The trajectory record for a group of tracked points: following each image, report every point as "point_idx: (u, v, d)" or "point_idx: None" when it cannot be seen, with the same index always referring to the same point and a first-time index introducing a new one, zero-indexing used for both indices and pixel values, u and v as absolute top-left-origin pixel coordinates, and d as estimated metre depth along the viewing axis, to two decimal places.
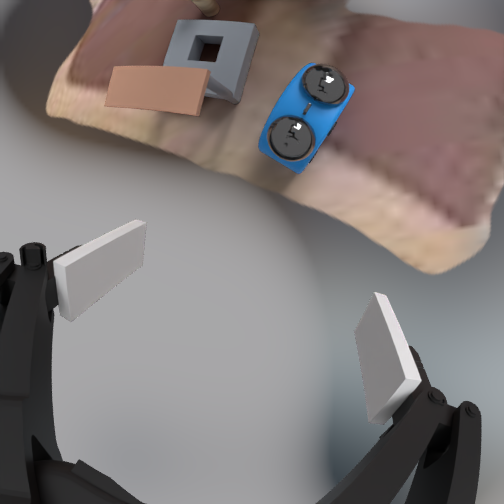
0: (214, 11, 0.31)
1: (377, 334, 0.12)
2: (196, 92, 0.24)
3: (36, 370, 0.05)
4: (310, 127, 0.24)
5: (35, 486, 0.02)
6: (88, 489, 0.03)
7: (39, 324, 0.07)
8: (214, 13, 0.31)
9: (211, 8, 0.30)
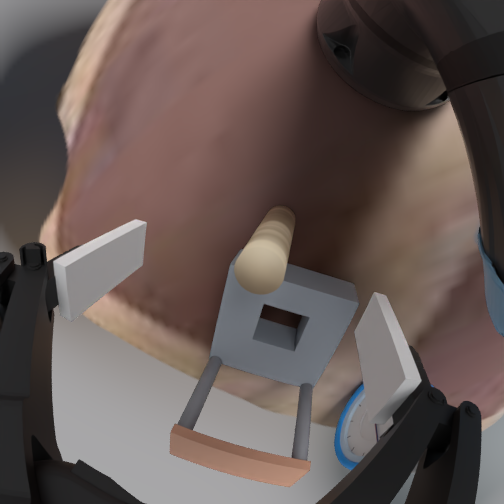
0: None
1: (377, 334, 0.11)
2: (293, 479, 0.19)
3: (36, 370, 0.05)
4: None
5: (35, 486, 0.02)
6: (88, 489, 0.03)
7: (39, 324, 0.07)
8: None
9: None
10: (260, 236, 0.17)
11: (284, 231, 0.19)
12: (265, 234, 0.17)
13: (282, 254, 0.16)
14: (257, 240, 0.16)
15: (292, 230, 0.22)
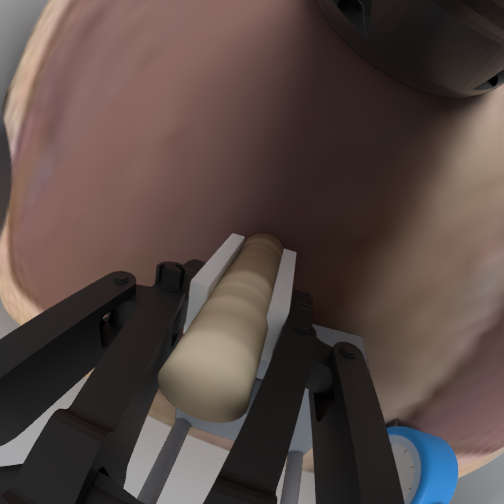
0: None
1: None
2: None
3: (136, 400, 0.06)
4: None
5: (35, 486, 0.02)
6: (88, 489, 0.03)
7: (157, 352, 0.07)
8: None
9: None
10: (209, 319, 0.09)
11: (260, 295, 0.11)
12: (220, 313, 0.09)
13: (246, 363, 0.08)
14: (200, 332, 0.08)
15: None
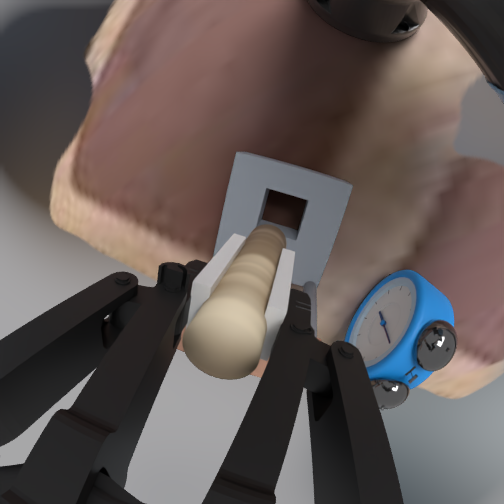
0: None
1: None
2: None
3: (137, 401, 0.06)
4: (408, 390, 0.21)
5: (35, 486, 0.02)
6: None
7: (159, 353, 0.07)
8: None
9: None
10: (226, 289, 0.11)
11: (266, 273, 0.13)
12: (234, 285, 0.11)
13: (257, 323, 0.10)
14: (219, 298, 0.10)
15: None
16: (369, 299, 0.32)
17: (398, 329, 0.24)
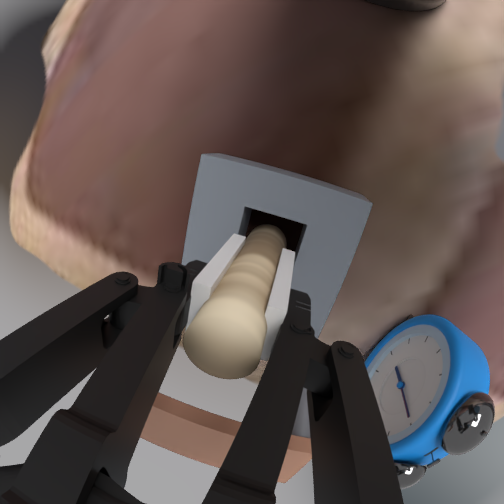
0: None
1: None
2: (290, 470, 0.12)
3: (137, 401, 0.06)
4: (425, 471, 0.13)
5: (35, 486, 0.02)
6: None
7: (159, 353, 0.07)
8: None
9: None
10: (226, 289, 0.11)
11: (267, 273, 0.13)
12: (235, 285, 0.11)
13: (258, 323, 0.10)
14: (220, 298, 0.10)
15: None
16: (383, 347, 0.24)
17: (421, 400, 0.16)
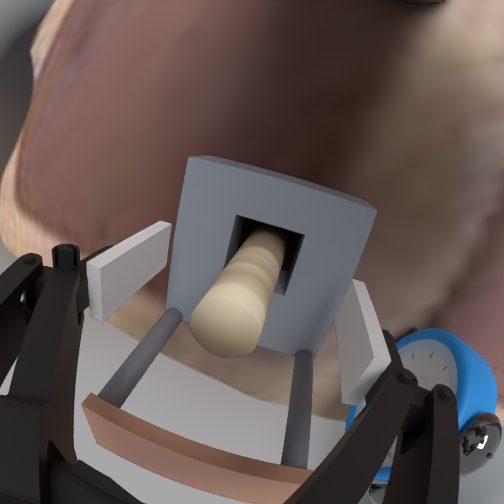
0: None
1: (353, 318, 0.12)
2: (284, 498, 0.11)
3: (60, 374, 0.06)
4: None
5: (35, 486, 0.02)
6: (88, 489, 0.03)
7: (67, 327, 0.07)
8: None
9: None
10: (230, 276, 0.12)
11: (268, 263, 0.14)
12: (238, 272, 0.12)
13: (258, 306, 0.11)
14: (224, 284, 0.11)
15: (281, 257, 0.17)
16: None
17: None
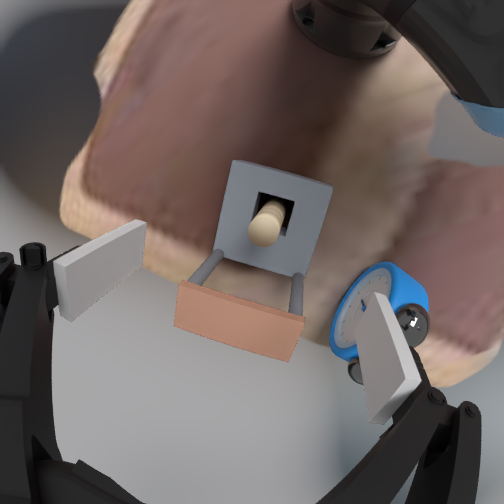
0: None
1: (377, 334, 0.12)
2: (291, 343, 0.25)
3: (36, 370, 0.05)
4: None
5: (35, 486, 0.02)
6: (88, 489, 0.03)
7: (39, 324, 0.07)
8: None
9: None
10: (263, 212, 0.27)
11: (278, 211, 0.29)
12: (266, 211, 0.27)
13: (277, 222, 0.26)
14: (261, 214, 0.26)
15: (284, 212, 0.32)
16: (353, 289, 0.37)
17: None
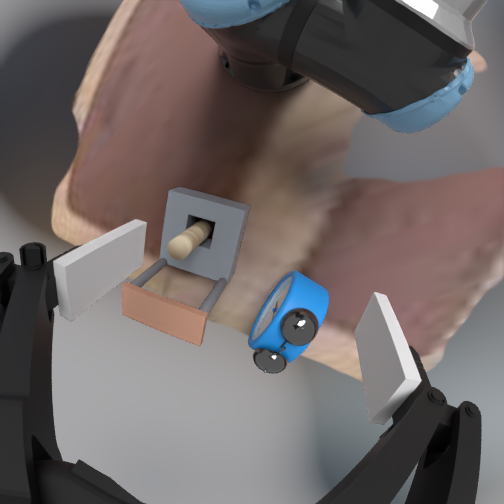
0: (211, 233, 0.45)
1: (377, 334, 0.11)
2: (198, 331, 0.34)
3: (36, 370, 0.05)
4: (284, 359, 0.35)
5: (35, 486, 0.02)
6: (88, 489, 0.03)
7: (39, 324, 0.07)
8: None
9: None
10: (181, 234, 0.36)
11: (197, 231, 0.38)
12: (184, 233, 0.36)
13: (188, 242, 0.35)
14: (178, 235, 0.35)
15: (207, 231, 0.41)
16: (274, 293, 0.46)
17: None
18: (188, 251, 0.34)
